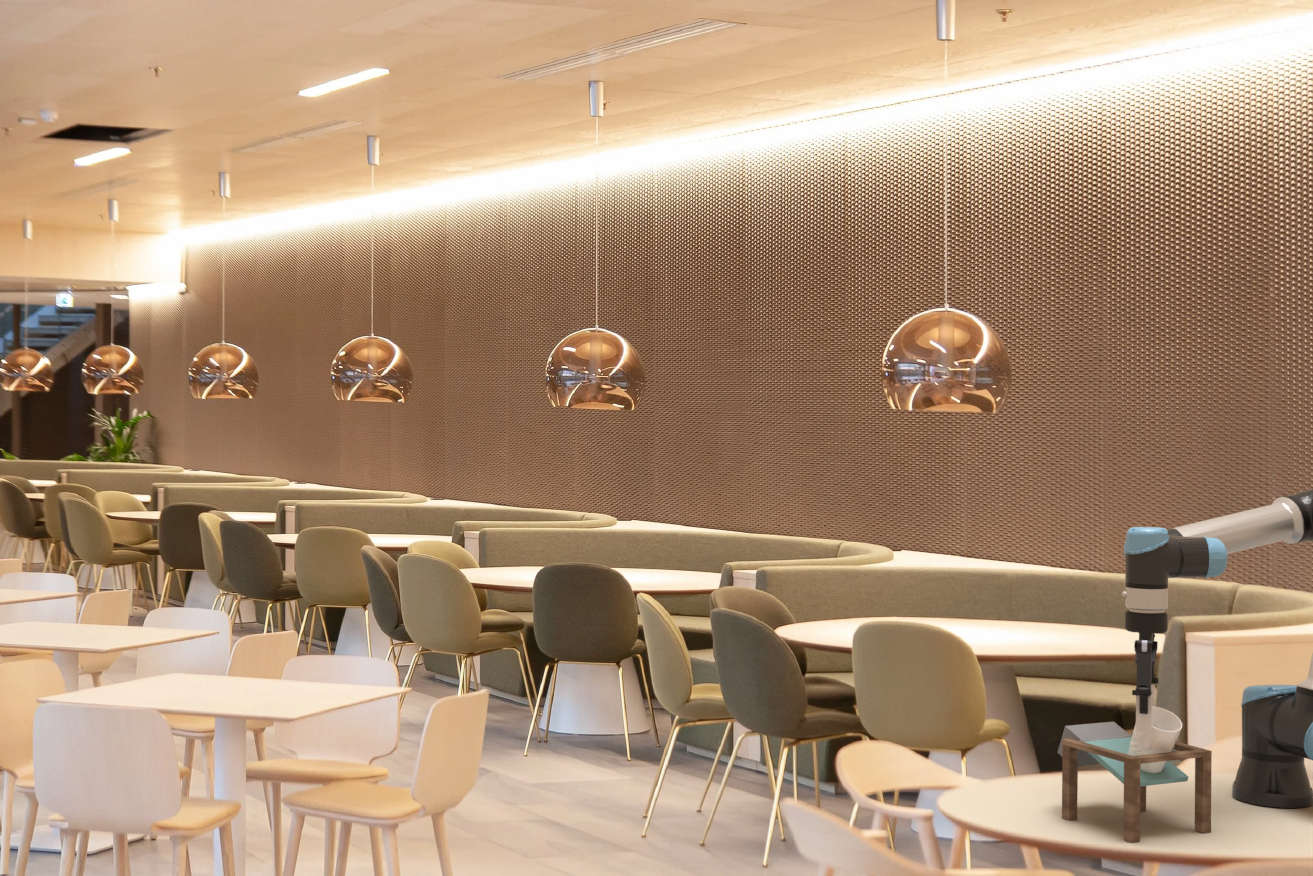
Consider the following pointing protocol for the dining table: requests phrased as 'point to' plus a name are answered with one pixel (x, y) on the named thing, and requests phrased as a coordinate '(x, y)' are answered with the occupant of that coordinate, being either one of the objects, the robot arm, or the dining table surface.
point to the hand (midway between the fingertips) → (1145, 725)
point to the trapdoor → (1119, 741)
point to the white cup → (1156, 738)
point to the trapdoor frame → (1137, 782)
